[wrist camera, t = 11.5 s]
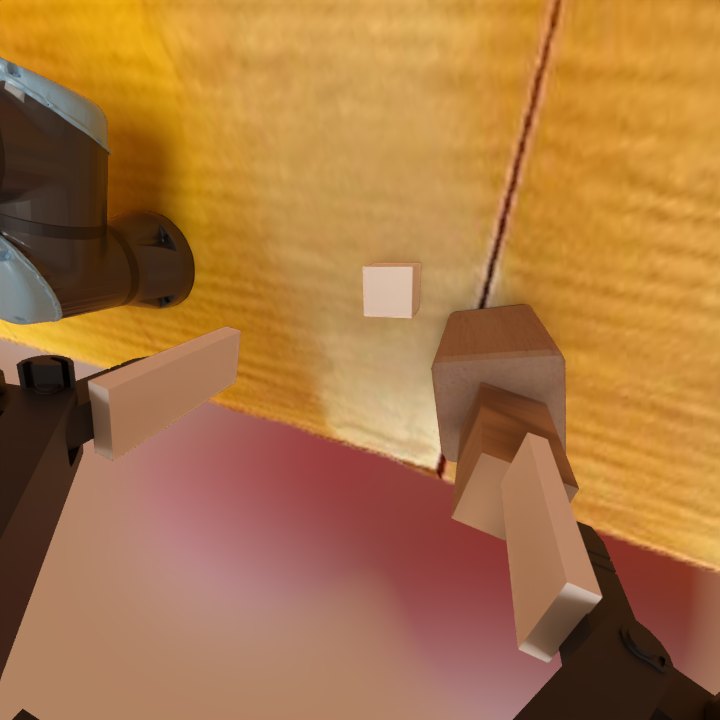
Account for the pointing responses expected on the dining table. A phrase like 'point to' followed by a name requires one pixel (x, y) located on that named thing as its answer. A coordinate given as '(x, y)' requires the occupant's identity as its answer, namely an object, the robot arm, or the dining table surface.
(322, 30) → the dining table surface
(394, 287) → the pale pink cube
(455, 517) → the walnut block
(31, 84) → the robot arm
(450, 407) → the block
